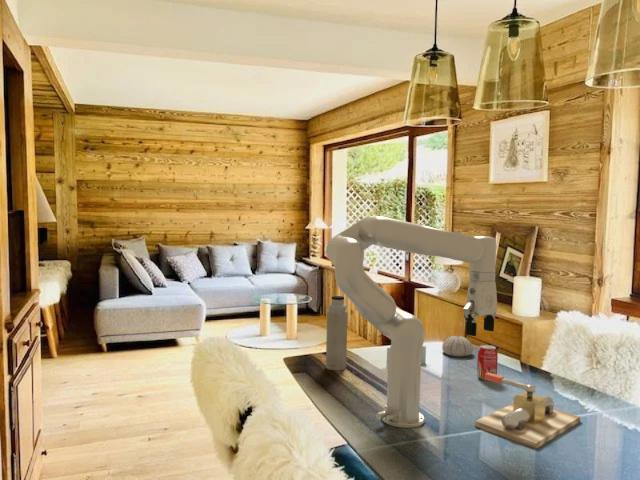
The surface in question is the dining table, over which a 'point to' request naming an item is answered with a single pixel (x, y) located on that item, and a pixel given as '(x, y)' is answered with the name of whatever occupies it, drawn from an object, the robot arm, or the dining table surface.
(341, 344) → the thermos bottle
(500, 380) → the valve lever
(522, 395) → the valve stand
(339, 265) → the robot arm
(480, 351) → the soda can
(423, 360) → the right angle wall
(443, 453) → the dining table surface
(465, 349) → the sea urchin shell
